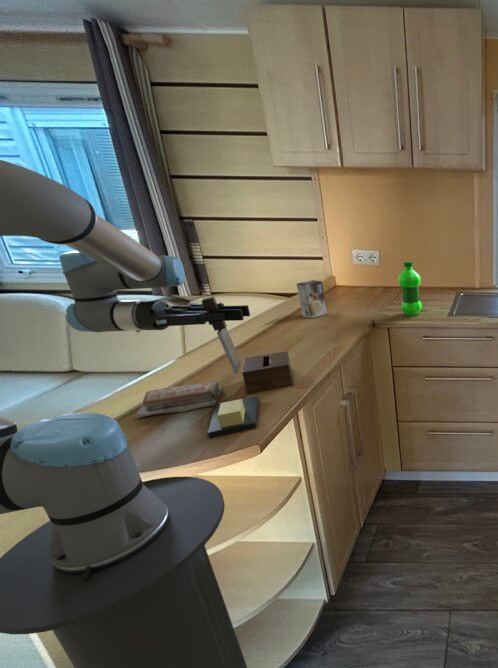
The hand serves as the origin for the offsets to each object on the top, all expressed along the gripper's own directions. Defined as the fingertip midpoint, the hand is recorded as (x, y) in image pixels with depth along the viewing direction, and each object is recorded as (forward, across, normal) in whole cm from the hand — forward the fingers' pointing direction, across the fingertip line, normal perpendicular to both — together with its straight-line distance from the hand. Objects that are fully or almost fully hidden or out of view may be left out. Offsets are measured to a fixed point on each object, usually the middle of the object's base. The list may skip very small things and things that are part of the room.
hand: (245, 312), depth 102 cm
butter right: (-4, +7, -26) cm, 27 cm away
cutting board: (-6, +4, -28) cm, 29 cm away
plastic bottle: (+30, -88, -28) cm, 97 cm away
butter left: (-6, +8, -26) cm, 28 cm away
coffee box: (-16, -89, -28) cm, 95 cm away
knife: (-5, 0, -15) cm, 16 cm away
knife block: (-7, -18, -28) cm, 33 cm away
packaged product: (-25, -5, -28) cm, 38 cm away
